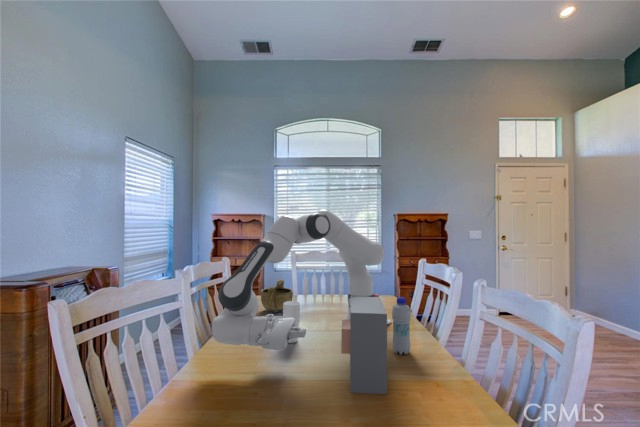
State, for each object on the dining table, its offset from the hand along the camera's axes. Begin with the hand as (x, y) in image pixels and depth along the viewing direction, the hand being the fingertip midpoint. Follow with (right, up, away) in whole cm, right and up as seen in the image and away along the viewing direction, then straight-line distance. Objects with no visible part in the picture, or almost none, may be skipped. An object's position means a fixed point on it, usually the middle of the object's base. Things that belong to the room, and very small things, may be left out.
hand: (305, 333), depth 99 cm
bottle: (+34, -13, +16) cm, 40 cm away
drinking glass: (-7, -13, +26) cm, 30 cm away
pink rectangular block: (+14, -4, -1) cm, 14 cm away
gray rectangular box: (+19, -12, -2) cm, 23 cm away
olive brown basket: (-19, -15, +69) cm, 73 cm away
